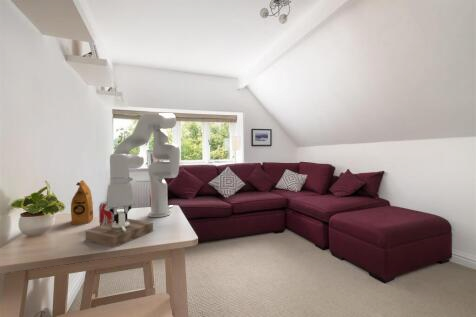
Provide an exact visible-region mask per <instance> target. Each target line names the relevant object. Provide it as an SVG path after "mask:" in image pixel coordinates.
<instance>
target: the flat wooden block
mask: <svg viewBox="0 0 476 317" xmlns="http://www.w3.org/2000/svg"><path fill="white" fill-rule="evenodd" d="M126 221H127V222H130V225H129V226H128V227H125V229H126V231H123V230H122V228H117V229H116V228H112V224H114V223H116V221H115V222H113V223H109V224H106V225H103V226H100V225H99V226H97V227H93V228H90V229H87V230H85V241H87V242H91V243H96V244H100V245H105V246H109V247H112V248H116V247H119V246H121V245H123V244H126V243H128V242H130V241H133V240H135V239H138V238H139V237H142V236H144V235H146V234H147V235H148V234H150V233H152V232H153V231H154V222H151V221H145V220H138V219H134V218H133V219H132V218H127V220H126Z"/></svg>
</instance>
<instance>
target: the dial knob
mask: <svg viewBox="0 0 476 317" xmlns="http://www.w3.org/2000/svg"><path fill="white" fill-rule="evenodd" d="M117 214H118V223H117V224H116V223H114V224H112V228H116V229H117V228H122V230H123V231H126V229H125V227H128V226H129V225H130V222H127V221H126V222H125V213H124V211H123V210H118V211H117Z"/></svg>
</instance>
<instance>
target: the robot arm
mask: <svg viewBox="0 0 476 317" xmlns="http://www.w3.org/2000/svg"><path fill="white" fill-rule="evenodd" d="M176 124H177V117H176V116H175V114H174V113H172V112H171V113H170V112H169V113H168V112H167V113H166V112H165V113H161V112H160V113H144V114H142V115H141V116H140V117H139V119H138V121H137V123H136V125H135V127H134V129H133V132H132V134H130V135H129V136H127V137H126V138H125V139H123V140H122V141H121V142H120V143H119V144H118V145H117V146H116V148H114V149H115V150H114V152H112V154H110V156H109V175H110V176H109V177H110V178H109V182H110V184H108V185H107V193H106V194H107V195H106V201H107V203H106V205H105V207H104V210H107V211H110V212H112V213H113V214H114V222H116V224H117V223H118V214H117V210H118V208H122V207H123V210H124V211H123V212H124V213H125V222H126V220H127V219H128V213H129V212H130V210H131V209H133V208H134V207H136V205H137V204H136V202H135V201H134V194H133V188H132V183H131V182H133V180H134V178H133V177H131V176H130V170H136V169H137V170H138V169H139V168H141V167H142V166H143V165H144V162H145V159H144V157H143V155H142V154H140V153H138V152H131V151H133V150H135V149H136V148H139V147H141V146H144V145H146V144H148V143H149V141H150V139H151V136H152V134H153V142H152V144H153V145H152V157H153V158H154V159H156V160H158V161H154V162H151V163H150V164H149V165H148V171H147V172H148V176H149V180H150V181H149V183H150V212H148V213H147V216H148V217H150V218H164V217H167V216H169V215H171V211H170V210H171V209H173V207H174V206H173V205H168V198H169V197H168V183H167V181H166V180H165V179H175V178H177V177H178V175H179V171H180V160H181V151H180V147H179V145H177V144H176V143H169V135H168V133H167V131H166V129H172V128H174V127H176ZM159 160H166V161H159ZM167 160H169V161H167ZM112 208H113V209H112Z"/></svg>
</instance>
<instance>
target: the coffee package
mask: <svg viewBox="0 0 476 317" xmlns="http://www.w3.org/2000/svg"><path fill="white" fill-rule="evenodd" d="M76 186H77V187H78V188H77V190H76V192H75V194H74V195H73V197H72V198H71V202H70V217H71V221H70V223H71V224H72V225H75V226H76V225H84V224H85V225H86V224H90V222H91V221H93V219H94V208H93V207H94V205H93V204H94V202H93V197H92V193H91V192H92V191H91V188H90V187H89V186H88V184H87V183H86V182H85V180H83V179H82V180H81V181H80V182H76Z"/></svg>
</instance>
